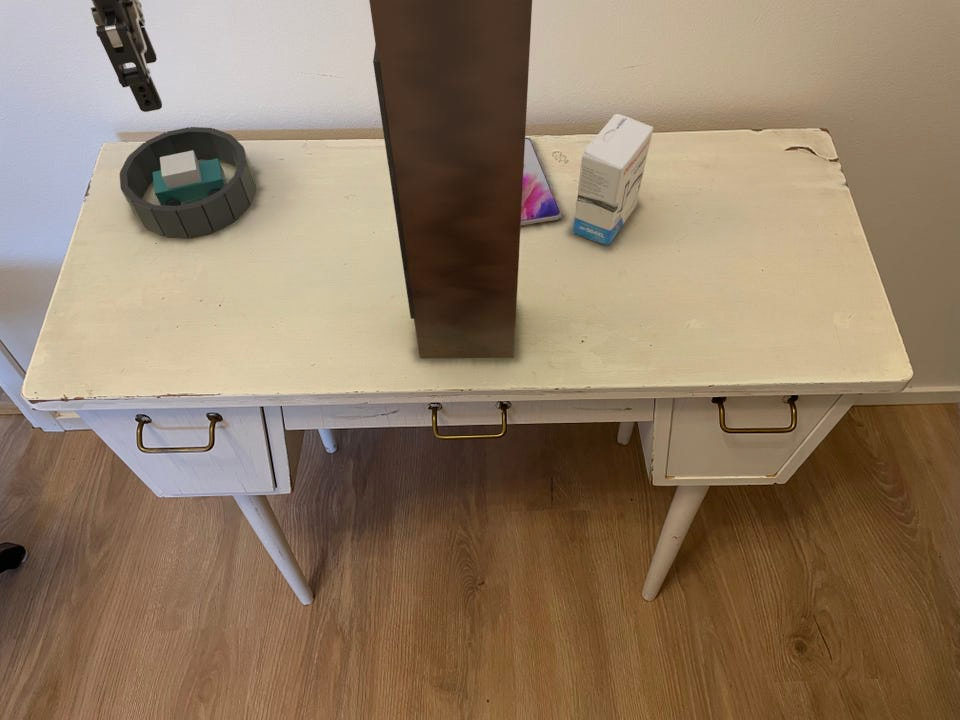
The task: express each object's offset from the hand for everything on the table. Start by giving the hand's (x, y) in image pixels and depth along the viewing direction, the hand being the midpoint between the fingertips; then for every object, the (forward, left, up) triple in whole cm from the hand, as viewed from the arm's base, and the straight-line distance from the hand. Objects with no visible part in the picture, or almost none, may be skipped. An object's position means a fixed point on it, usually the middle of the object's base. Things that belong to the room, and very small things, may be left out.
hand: (150, 84), depth 78 cm
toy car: (0, 0, -16) cm, 16 cm away
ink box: (+47, -20, -16) cm, 53 cm away
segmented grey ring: (0, 0, -16) cm, 16 cm away
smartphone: (+39, -11, -16) cm, 43 cm away
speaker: (+26, -31, -16) cm, 43 cm away
